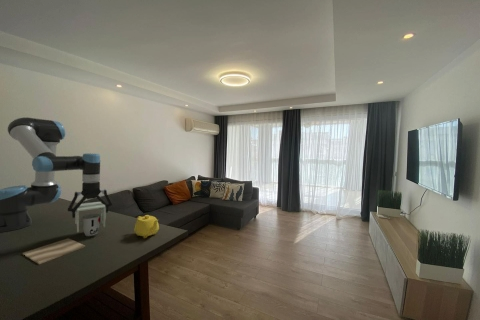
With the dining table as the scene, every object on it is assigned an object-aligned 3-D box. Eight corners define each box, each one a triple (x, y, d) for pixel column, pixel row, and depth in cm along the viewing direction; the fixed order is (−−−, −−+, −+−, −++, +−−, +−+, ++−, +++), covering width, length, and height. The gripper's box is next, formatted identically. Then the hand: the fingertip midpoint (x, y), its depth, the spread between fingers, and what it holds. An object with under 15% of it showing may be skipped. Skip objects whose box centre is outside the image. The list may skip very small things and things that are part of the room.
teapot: (166, 234, 105) (166, 216, 105) (148, 242, 96) (148, 222, 95) (146, 227, 114) (146, 210, 114) (128, 234, 104) (128, 215, 104)
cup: (90, 238, 99) (90, 219, 98) (77, 236, 100) (77, 218, 100) (104, 231, 107) (104, 214, 106) (92, 230, 108) (92, 213, 108)
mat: (22, 254, 82) (22, 253, 82) (68, 239, 97) (68, 238, 97) (39, 264, 75) (39, 263, 75) (85, 246, 90) (85, 245, 90)
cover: (76, 224, 104) (76, 204, 103) (102, 220, 112) (102, 201, 111) (77, 232, 95) (77, 210, 95) (105, 226, 103) (105, 206, 102)
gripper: (60, 184, 92) (60, 228, 93) (118, 181, 108) (117, 218, 109) (61, 182, 97) (61, 223, 98) (116, 179, 113) (115, 214, 114)
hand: (90, 220), depth 103 cm, fingers closed on cover, 12 cm apart
